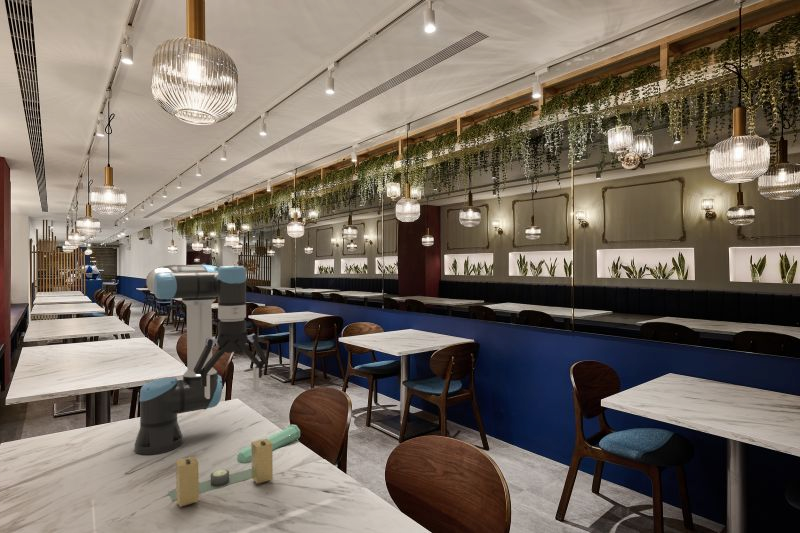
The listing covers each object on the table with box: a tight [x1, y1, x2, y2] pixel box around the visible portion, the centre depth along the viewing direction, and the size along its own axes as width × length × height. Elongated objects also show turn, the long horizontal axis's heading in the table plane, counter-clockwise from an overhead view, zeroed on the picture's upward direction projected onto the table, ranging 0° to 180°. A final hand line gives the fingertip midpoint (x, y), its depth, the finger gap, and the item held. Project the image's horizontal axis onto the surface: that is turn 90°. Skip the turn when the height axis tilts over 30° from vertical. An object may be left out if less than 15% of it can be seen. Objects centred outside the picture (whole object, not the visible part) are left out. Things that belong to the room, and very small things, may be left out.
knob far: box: [250, 438, 274, 484], centre depth 129 cm, size 5×5×12 cm
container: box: [236, 424, 301, 464], centre depth 152 cm, size 6×6×25 cm
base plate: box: [168, 468, 252, 502], centre depth 126 cm, size 12×26×4 cm, turn 126°
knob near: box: [175, 455, 200, 508], centre depth 117 cm, size 5×5×12 cm
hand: (232, 393), depth 127 cm, fingers open, 13 cm apart
